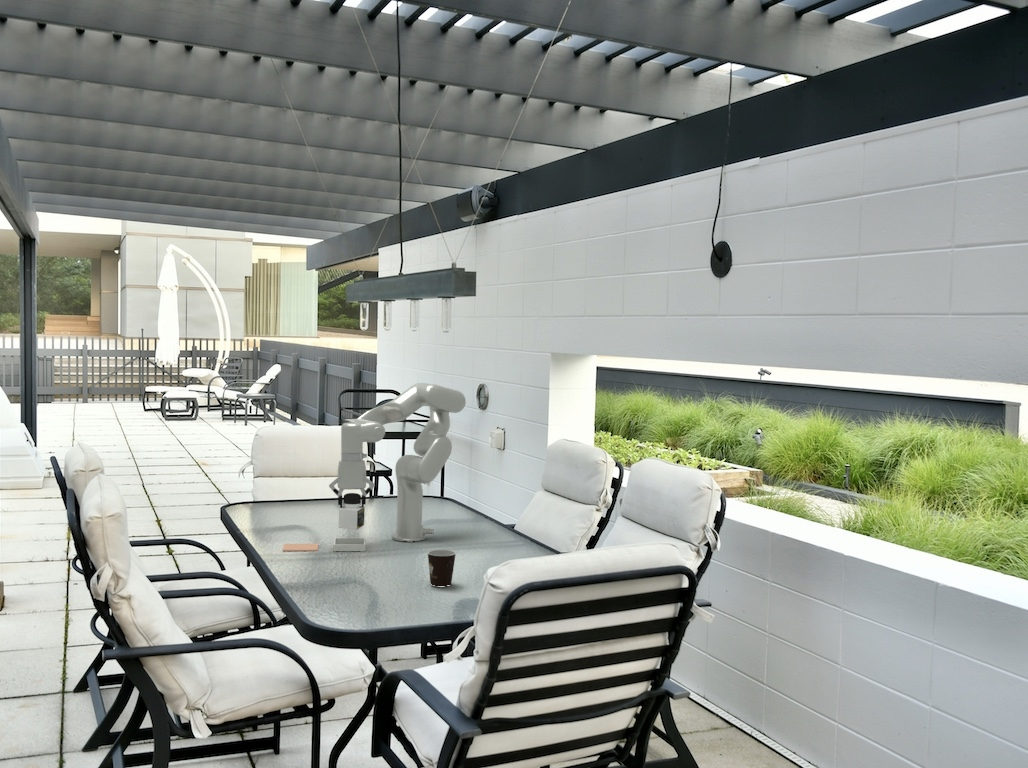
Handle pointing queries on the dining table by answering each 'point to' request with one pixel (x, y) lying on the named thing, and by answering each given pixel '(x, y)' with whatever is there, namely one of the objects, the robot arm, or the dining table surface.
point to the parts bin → (349, 544)
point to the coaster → (300, 547)
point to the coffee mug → (441, 567)
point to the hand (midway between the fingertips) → (351, 506)
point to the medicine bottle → (351, 512)
